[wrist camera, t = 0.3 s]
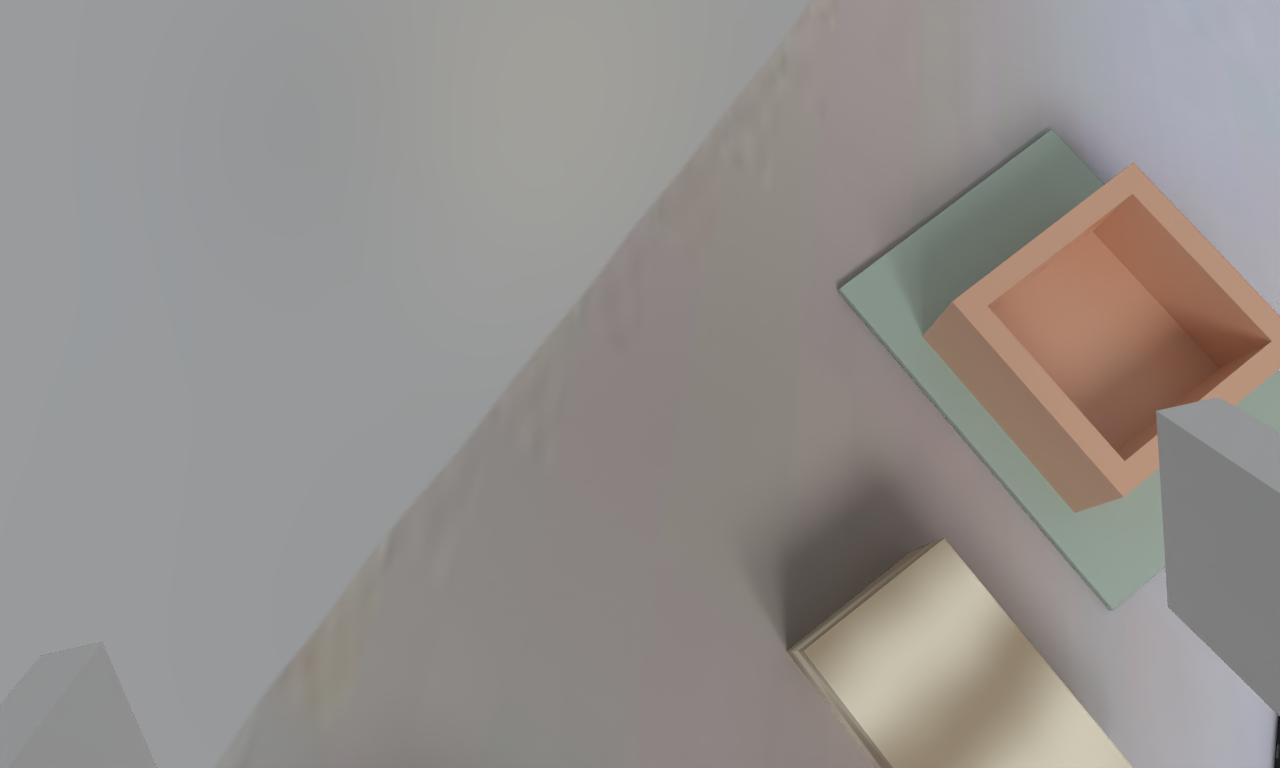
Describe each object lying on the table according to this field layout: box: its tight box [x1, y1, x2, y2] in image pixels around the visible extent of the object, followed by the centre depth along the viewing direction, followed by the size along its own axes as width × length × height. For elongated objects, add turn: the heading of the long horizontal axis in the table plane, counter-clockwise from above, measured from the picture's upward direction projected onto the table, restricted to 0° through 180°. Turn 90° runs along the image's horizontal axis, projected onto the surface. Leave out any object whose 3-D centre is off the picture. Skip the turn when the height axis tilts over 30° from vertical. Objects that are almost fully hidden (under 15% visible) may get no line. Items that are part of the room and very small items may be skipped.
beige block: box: [787, 538, 1133, 768], centre depth 43 cm, size 12×7×6 cm, turn 37°
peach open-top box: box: [923, 162, 1280, 513], centre depth 46 cm, size 10×10×5 cm
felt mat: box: [838, 129, 1280, 610], centre depth 49 cm, size 18×13×1 cm
